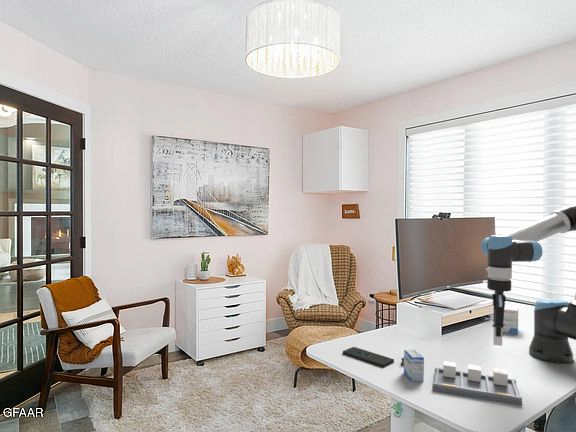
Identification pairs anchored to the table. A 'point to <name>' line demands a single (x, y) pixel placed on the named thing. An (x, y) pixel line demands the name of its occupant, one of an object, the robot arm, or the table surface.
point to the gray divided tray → (477, 387)
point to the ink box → (510, 319)
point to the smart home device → (368, 357)
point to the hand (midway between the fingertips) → (497, 344)
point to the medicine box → (413, 365)
